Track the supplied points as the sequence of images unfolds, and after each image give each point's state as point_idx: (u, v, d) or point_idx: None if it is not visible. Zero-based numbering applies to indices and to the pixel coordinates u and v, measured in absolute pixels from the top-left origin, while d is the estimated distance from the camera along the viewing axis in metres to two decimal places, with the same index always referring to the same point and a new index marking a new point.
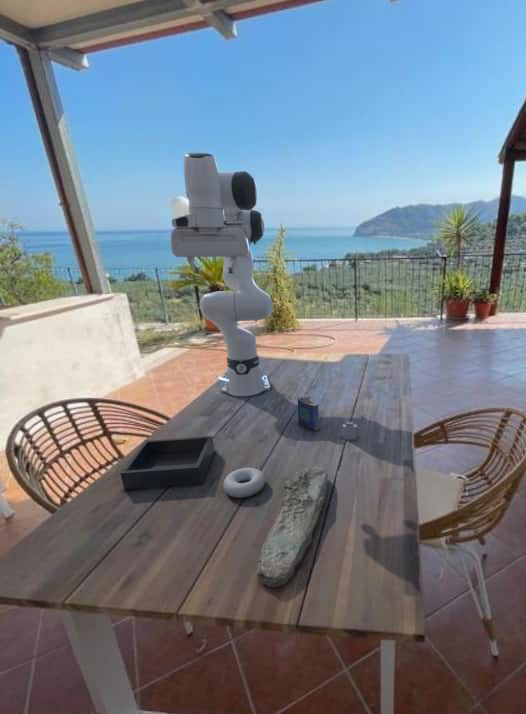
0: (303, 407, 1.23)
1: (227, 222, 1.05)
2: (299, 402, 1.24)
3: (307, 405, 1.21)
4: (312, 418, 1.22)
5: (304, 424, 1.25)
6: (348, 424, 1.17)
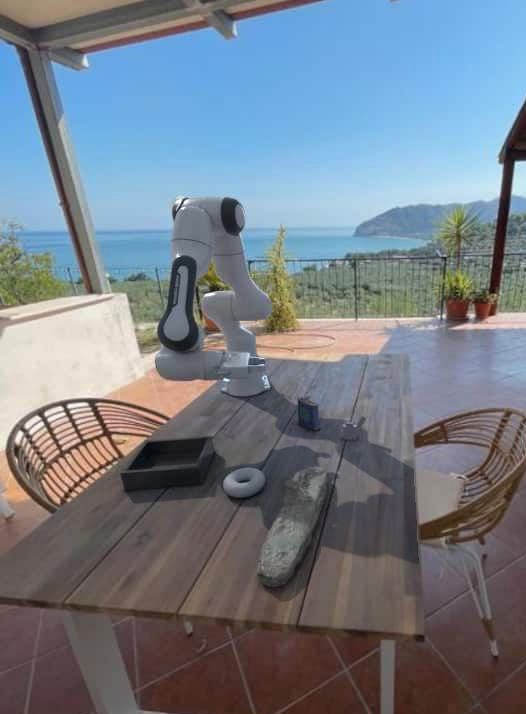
0: (303, 407, 1.23)
1: None
2: (299, 402, 1.24)
3: (307, 405, 1.21)
4: (312, 418, 1.22)
5: (304, 424, 1.25)
6: (348, 424, 1.17)
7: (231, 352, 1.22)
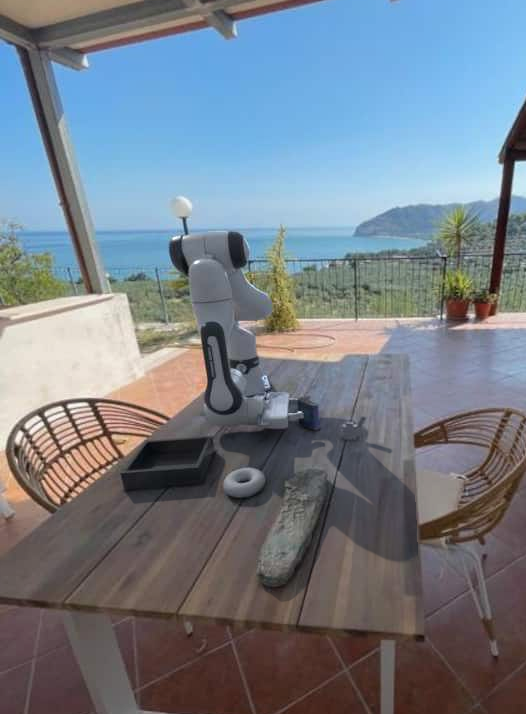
0: (303, 407, 1.23)
1: None
2: (299, 402, 1.24)
3: (307, 405, 1.21)
4: (312, 418, 1.22)
5: (304, 424, 1.25)
6: (348, 424, 1.17)
7: (272, 394, 1.29)
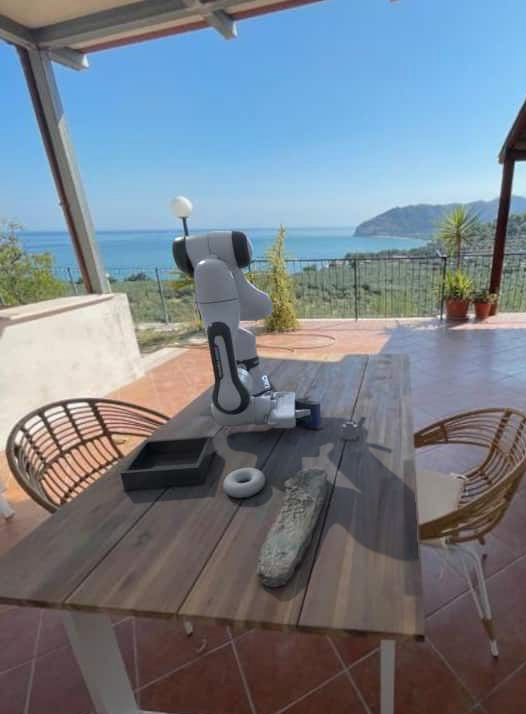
0: (304, 407, 1.23)
1: None
2: (298, 403, 1.23)
3: (309, 405, 1.22)
4: (315, 417, 1.23)
5: (305, 424, 1.25)
6: (348, 424, 1.17)
7: (278, 393, 1.29)
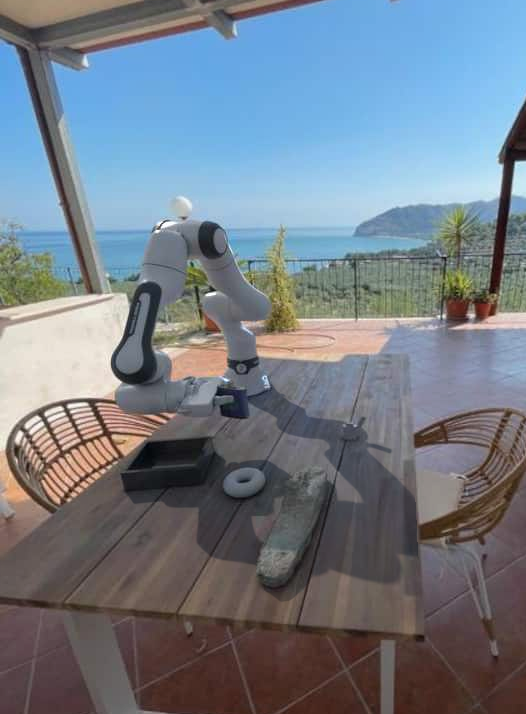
0: (227, 394, 1.06)
1: None
2: (221, 389, 1.06)
3: (233, 391, 1.05)
4: (241, 405, 1.06)
5: (230, 414, 1.08)
6: (348, 424, 1.17)
7: (202, 378, 1.12)
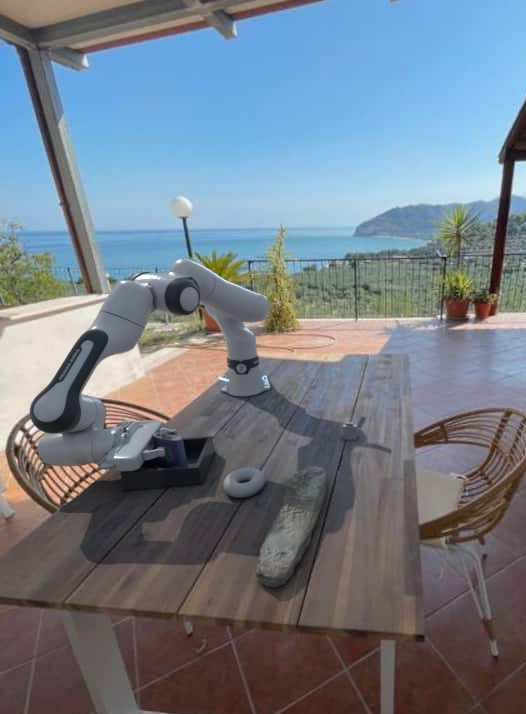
0: (162, 445, 0.99)
1: None
2: (155, 439, 1.00)
3: (168, 441, 0.98)
4: (177, 455, 0.99)
5: (167, 465, 1.01)
6: (348, 424, 1.17)
7: (139, 423, 1.06)
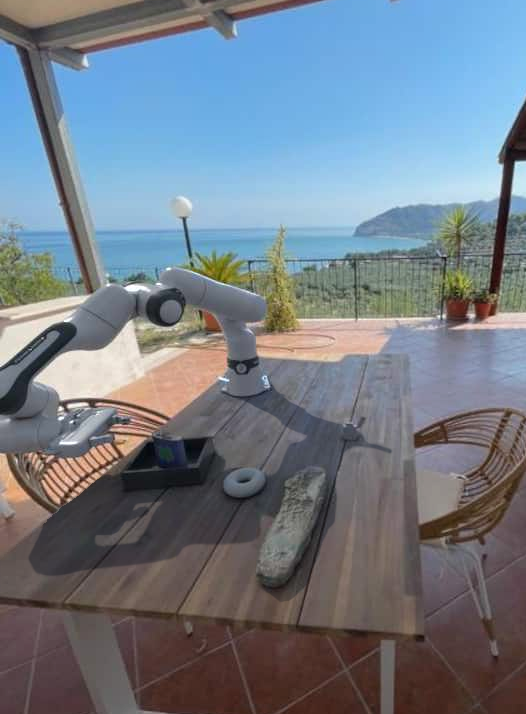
0: (162, 445, 0.99)
1: None
2: (155, 439, 1.00)
3: (168, 441, 0.98)
4: (177, 455, 0.99)
5: (167, 465, 1.01)
6: (348, 424, 1.17)
7: (91, 410, 1.04)
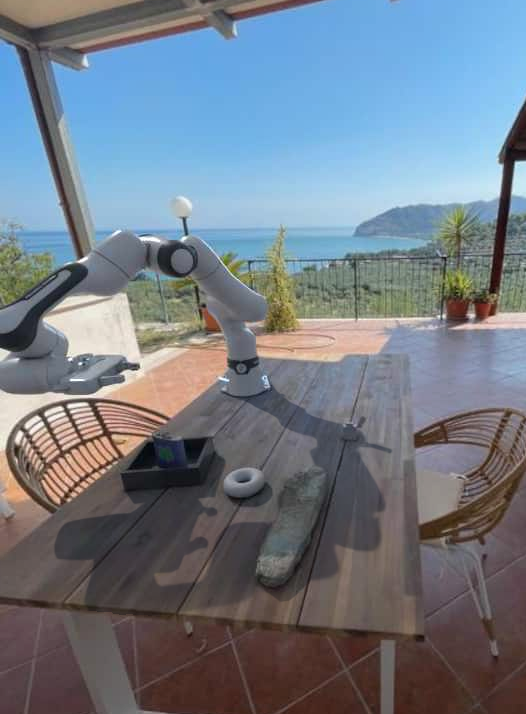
0: (162, 445, 0.99)
1: None
2: (155, 439, 1.00)
3: (168, 441, 0.98)
4: (177, 455, 0.99)
5: (167, 465, 1.01)
6: (348, 424, 1.17)
7: (100, 356, 1.03)
